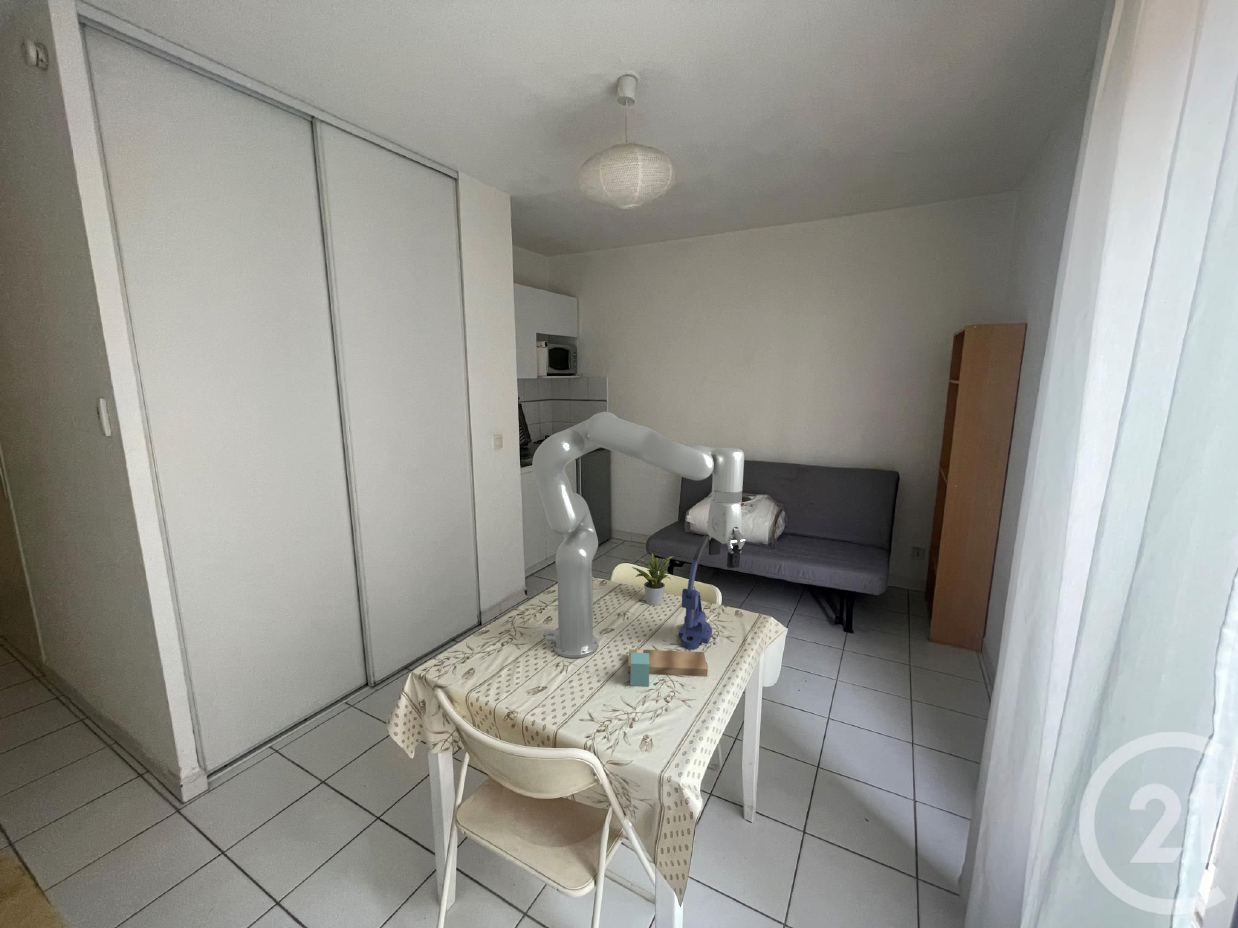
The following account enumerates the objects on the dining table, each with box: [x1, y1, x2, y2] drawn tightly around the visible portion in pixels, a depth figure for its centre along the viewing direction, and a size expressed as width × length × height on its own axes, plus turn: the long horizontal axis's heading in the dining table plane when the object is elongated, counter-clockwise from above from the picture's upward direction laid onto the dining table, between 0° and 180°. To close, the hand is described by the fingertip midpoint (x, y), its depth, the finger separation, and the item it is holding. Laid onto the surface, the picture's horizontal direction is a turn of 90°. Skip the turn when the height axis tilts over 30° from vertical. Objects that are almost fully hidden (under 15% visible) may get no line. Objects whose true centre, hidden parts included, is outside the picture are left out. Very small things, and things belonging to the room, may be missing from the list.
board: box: [627, 648, 709, 677], centre depth 129 cm, size 20×8×2 cm, turn 87°
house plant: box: [631, 552, 675, 607], centre depth 167 cm, size 14×14×16 cm
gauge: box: [629, 649, 650, 688], centre depth 125 cm, size 4×10×6 cm, turn 177°
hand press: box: [678, 535, 713, 651], centre depth 142 cm, size 19×9×28 cm, turn 157°
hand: (723, 560), depth 129 cm, fingers open, 9 cm apart
